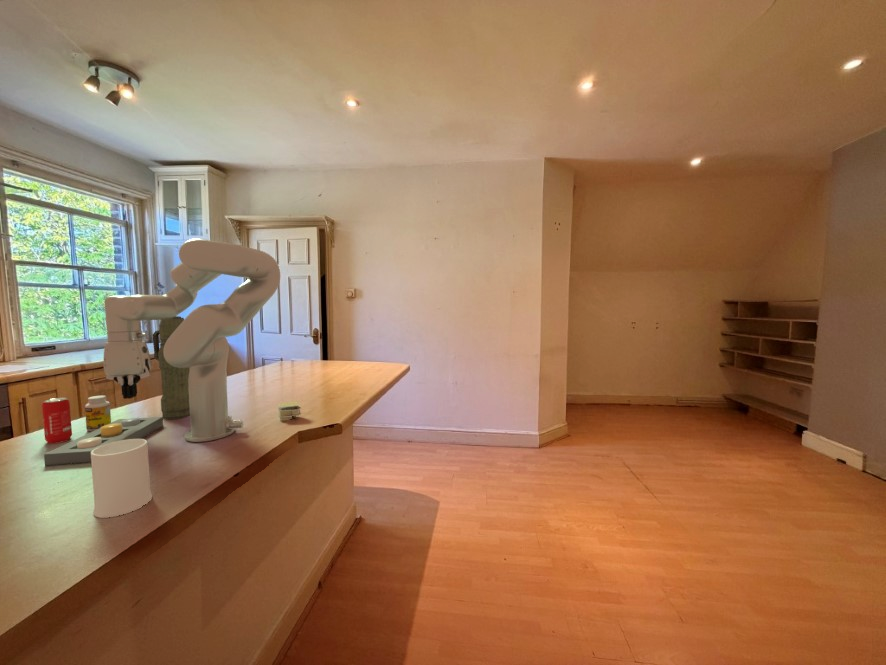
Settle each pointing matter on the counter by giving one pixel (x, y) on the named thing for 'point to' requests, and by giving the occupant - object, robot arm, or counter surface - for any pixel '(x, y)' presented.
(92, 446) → the ivory button
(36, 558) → the counter surface
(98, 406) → the supplement bottle
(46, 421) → the beverage can
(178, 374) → the thermos
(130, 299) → the robot arm
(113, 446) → the white oval container
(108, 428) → the amber button
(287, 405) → the stacked layers on plate
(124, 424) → the slate button
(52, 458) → the panel
